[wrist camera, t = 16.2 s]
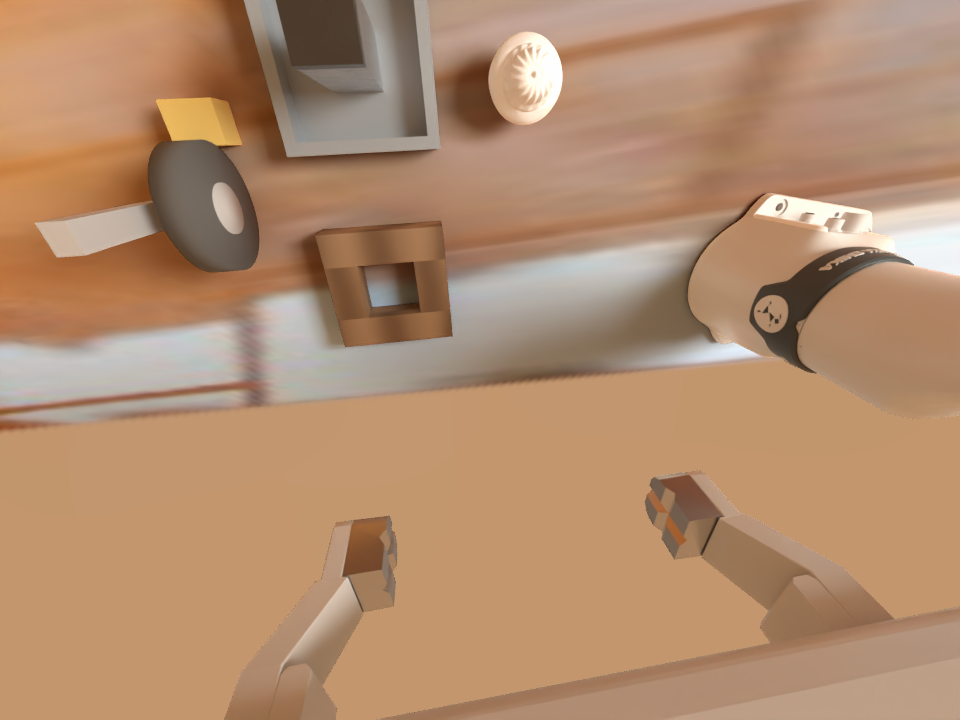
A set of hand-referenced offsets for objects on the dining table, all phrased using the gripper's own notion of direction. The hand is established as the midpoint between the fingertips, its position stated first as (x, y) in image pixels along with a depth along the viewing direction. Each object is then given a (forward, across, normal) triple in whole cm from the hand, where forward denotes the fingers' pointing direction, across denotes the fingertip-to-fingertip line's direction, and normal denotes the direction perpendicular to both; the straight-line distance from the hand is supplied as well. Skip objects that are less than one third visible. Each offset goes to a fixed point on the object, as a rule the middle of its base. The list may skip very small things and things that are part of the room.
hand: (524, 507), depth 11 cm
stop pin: (+32, +7, -16) cm, 37 cm away
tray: (+33, +7, -16) cm, 37 cm away
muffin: (+33, -7, -14) cm, 37 cm away
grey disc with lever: (+33, +21, -7) cm, 40 cm away
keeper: (+33, +7, +3) cm, 34 cm away
